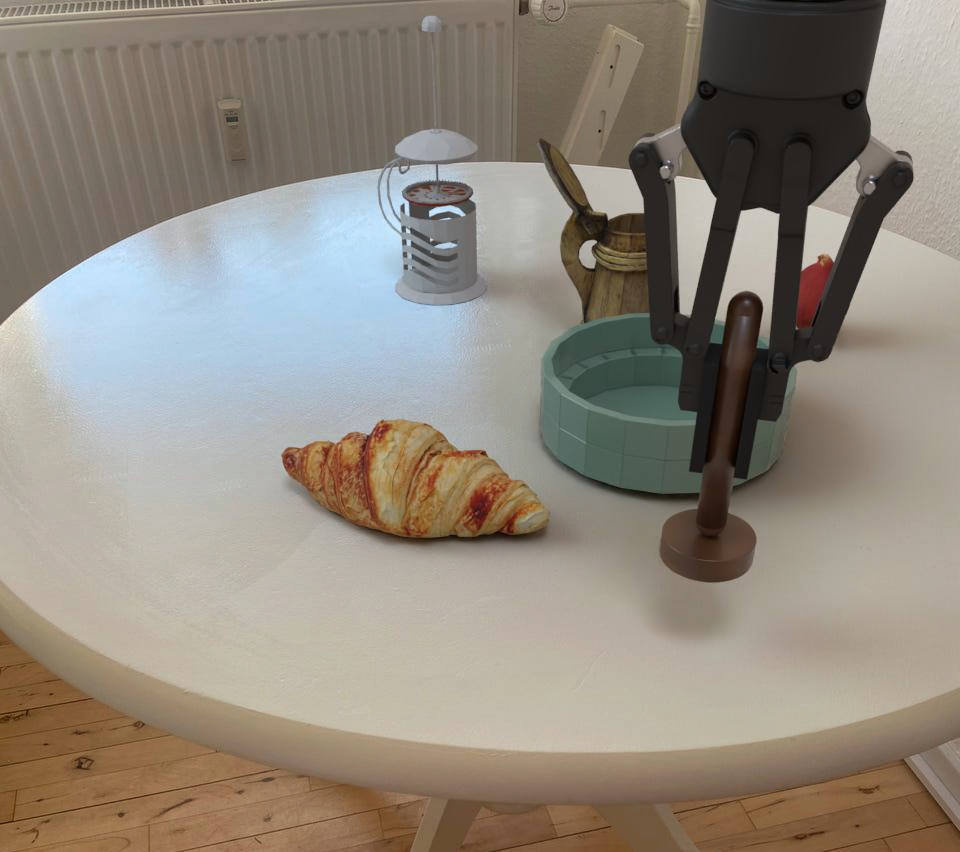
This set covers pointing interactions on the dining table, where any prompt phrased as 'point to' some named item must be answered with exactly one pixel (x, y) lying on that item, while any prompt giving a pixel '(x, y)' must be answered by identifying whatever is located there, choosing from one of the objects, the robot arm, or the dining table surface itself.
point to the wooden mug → (600, 248)
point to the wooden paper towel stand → (720, 465)
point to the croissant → (414, 484)
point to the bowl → (632, 407)
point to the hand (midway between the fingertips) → (720, 462)
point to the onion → (812, 289)
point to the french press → (436, 216)
